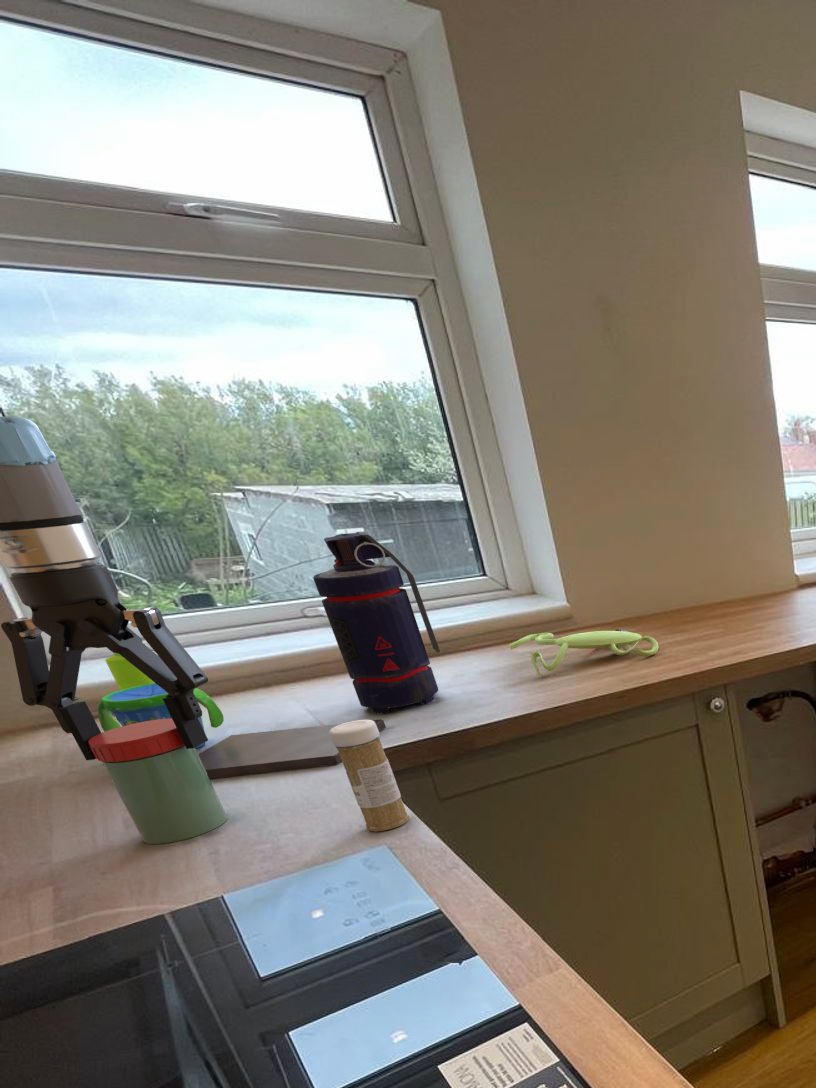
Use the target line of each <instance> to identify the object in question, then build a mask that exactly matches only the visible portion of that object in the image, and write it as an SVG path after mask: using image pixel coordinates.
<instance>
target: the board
mask: <svg viewBox="0 0 816 1088" xmlns="http://www.w3.org/2000/svg"><path fill="white" fill-rule="evenodd" d="M371 720H372V721H374V722H375V723H376V726H377V728H378V731H379V733H382V732H383V730H385V729H386V728H387V726H386V723H385V719H383V718H380V719H371ZM343 723H344V722H343ZM343 723H333V724H324V725H323V724H322V725H315V726H314V725H313V726H305V727H296V728H287V729H277V730H268V731H257V732H249V733H241V734H240V733H239V734H230V735H229V736H227V737H225V738H224V739H222V740H220V741H219V742H217V743H215V744H213V745H212V746H210V747H208V748H206V749H205V750H202V751H201V752H200V753H198V755H199V757H200V760H201V762H202V764H203V766H204V768H205V770H206V772H207V774H208V777H209V779H210V780H216V779H224V778H232V777H241V776H248V775H249V776H250V775H258V774H266V773H276V772H285V771H294V770H301V769H310V768H318V767H327V766H335V765H339V764H340V763H343V762H342V759H341V757H340V755H339V752H338V749H337V748H336V746H335V745H334V744H333V742H332V740H331V737H330V734H329V731H330V730H331V729H332V728H333V727H335V726H337V725H340V724H343Z"/></svg>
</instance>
